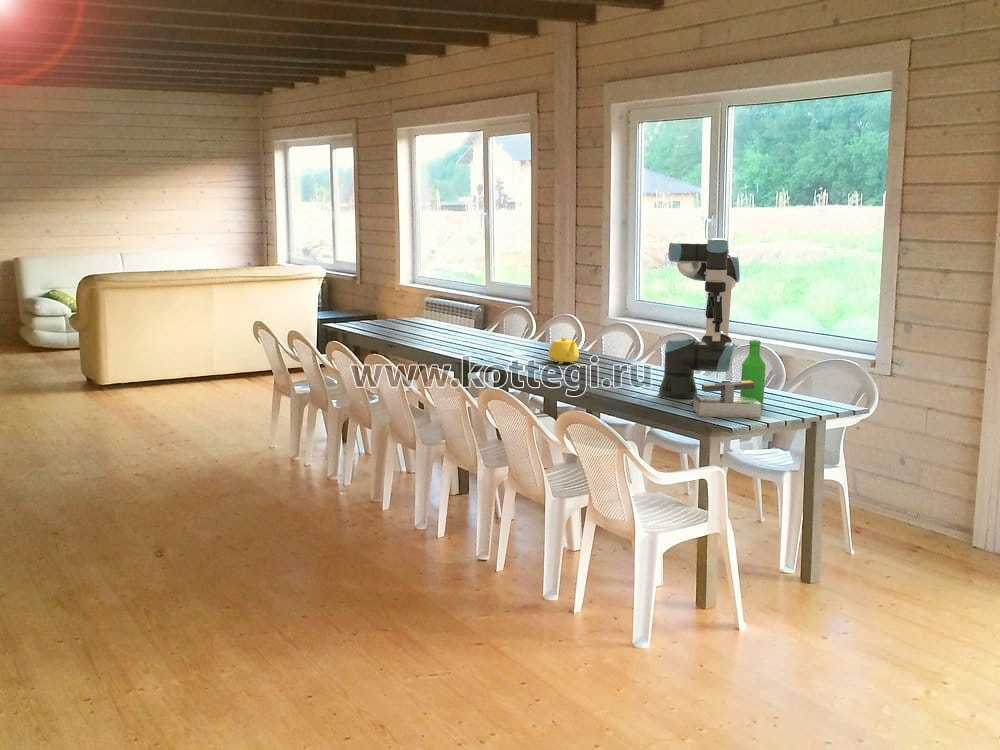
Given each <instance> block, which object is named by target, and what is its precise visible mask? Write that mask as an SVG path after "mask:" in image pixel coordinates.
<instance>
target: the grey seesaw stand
mask: <svg viewBox="0 0 1000 750" xmlns="http://www.w3.org/2000/svg"><path fill="white" fill-rule="evenodd" d="M727 382H732V381H731V380H721V382H720V383H727ZM693 400H694V401H693ZM693 400H692V401H693V406H692V409H693V411H694V412H695V413H696V414H697V416H698V417H700V416H702V417H705V418H706V417H707V418H708V417H709V418H710V417H711V418H746V417H761V416H762V405H761V403H759V402H758V401H757V400H756V399H755V398H754V397H740V396H735V390H734V384H725V391H720V395H698V394H697V395H696V394H695V393H694V398H693ZM761 418H762V417H761ZM746 419H747V418H746Z"/></svg>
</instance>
